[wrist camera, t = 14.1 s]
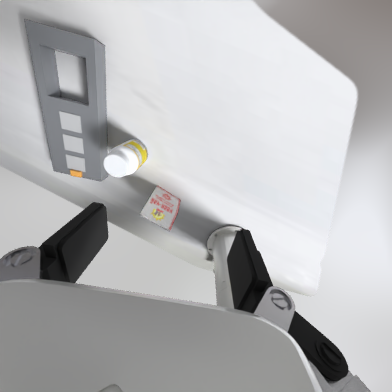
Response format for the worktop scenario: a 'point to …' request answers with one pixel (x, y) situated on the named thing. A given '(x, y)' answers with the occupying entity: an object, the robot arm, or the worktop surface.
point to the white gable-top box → (161, 208)
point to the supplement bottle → (125, 158)
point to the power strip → (71, 102)
